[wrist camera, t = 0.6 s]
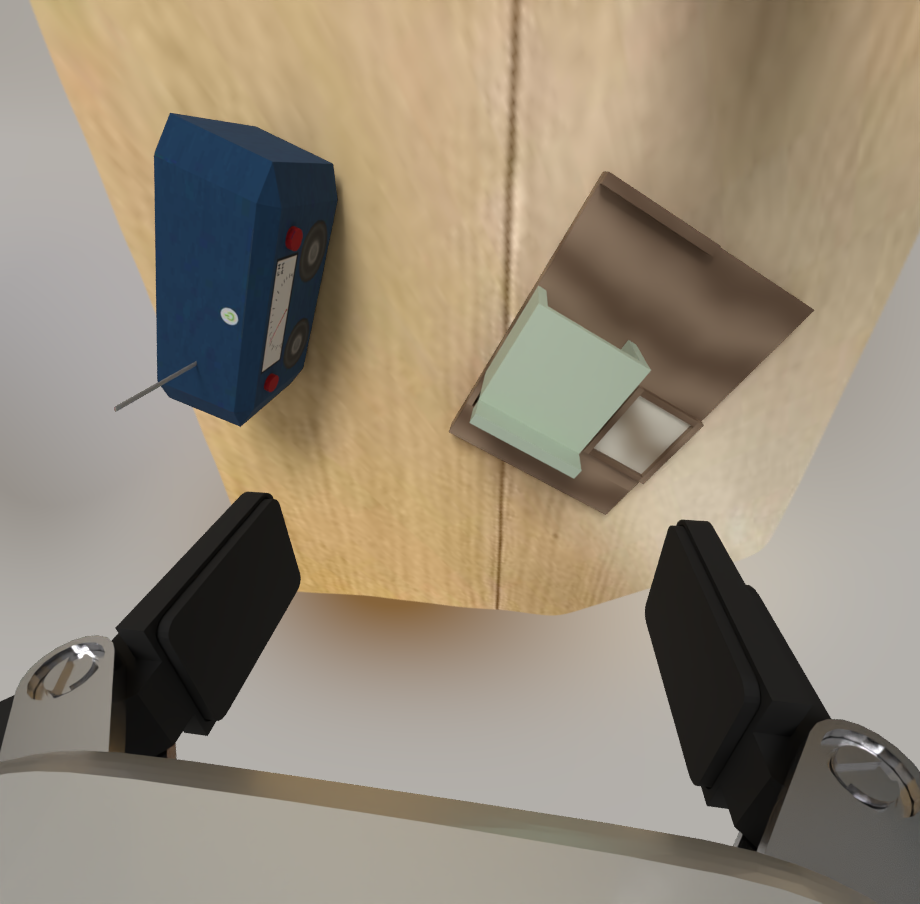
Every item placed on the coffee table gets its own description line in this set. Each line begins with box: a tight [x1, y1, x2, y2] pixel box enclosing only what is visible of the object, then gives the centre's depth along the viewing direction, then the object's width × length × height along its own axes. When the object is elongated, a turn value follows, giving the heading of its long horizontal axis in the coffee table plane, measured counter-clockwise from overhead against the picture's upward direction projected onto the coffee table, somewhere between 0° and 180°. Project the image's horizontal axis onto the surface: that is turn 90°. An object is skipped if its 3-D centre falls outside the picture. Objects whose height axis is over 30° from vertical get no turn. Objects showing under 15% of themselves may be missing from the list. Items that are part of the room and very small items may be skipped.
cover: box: [470, 286, 651, 478], centre depth 36 cm, size 10×10×8 cm
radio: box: [114, 113, 338, 427], centre depth 33 cm, size 21×9×20 cm, turn 158°
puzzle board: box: [449, 172, 814, 515], centre depth 40 cm, size 26×20×3 cm
